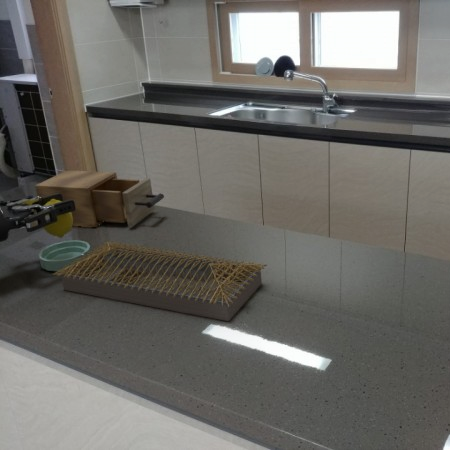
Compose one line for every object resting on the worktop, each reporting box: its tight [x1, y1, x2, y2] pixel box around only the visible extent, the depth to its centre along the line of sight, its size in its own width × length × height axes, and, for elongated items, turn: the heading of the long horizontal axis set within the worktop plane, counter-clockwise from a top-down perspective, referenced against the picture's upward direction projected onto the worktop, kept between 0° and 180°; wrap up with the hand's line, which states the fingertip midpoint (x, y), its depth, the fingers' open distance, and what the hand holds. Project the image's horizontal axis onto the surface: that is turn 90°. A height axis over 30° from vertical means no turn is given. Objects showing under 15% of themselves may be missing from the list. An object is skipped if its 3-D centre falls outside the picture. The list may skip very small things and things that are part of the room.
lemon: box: [43, 199, 73, 239], centre depth 103 cm, size 6×6×8 cm
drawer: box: [90, 177, 165, 227], centre depth 124 cm, size 17×10×8 cm, turn 76°
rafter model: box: [52, 241, 268, 322], centre depth 95 cm, size 35×14×6 cm, turn 69°
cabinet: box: [34, 169, 118, 229], centre depth 127 cm, size 14×12×10 cm
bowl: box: [38, 239, 92, 272], centre depth 106 cm, size 9×9×2 cm
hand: (67, 201), depth 104 cm, fingers closed on lemon, 5 cm apart
